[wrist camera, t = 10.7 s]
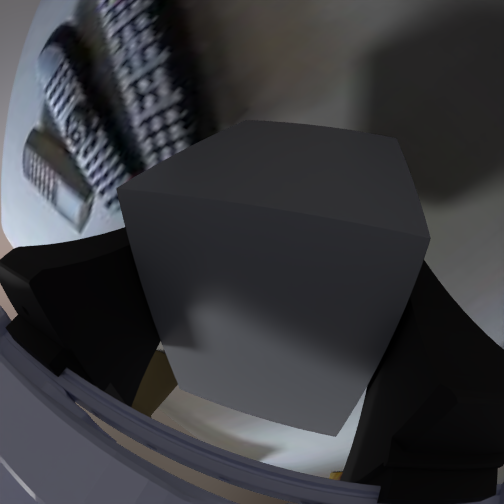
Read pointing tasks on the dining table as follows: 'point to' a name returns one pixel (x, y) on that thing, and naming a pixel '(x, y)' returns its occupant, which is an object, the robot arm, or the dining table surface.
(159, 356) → the cork
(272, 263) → the dark gray square block
